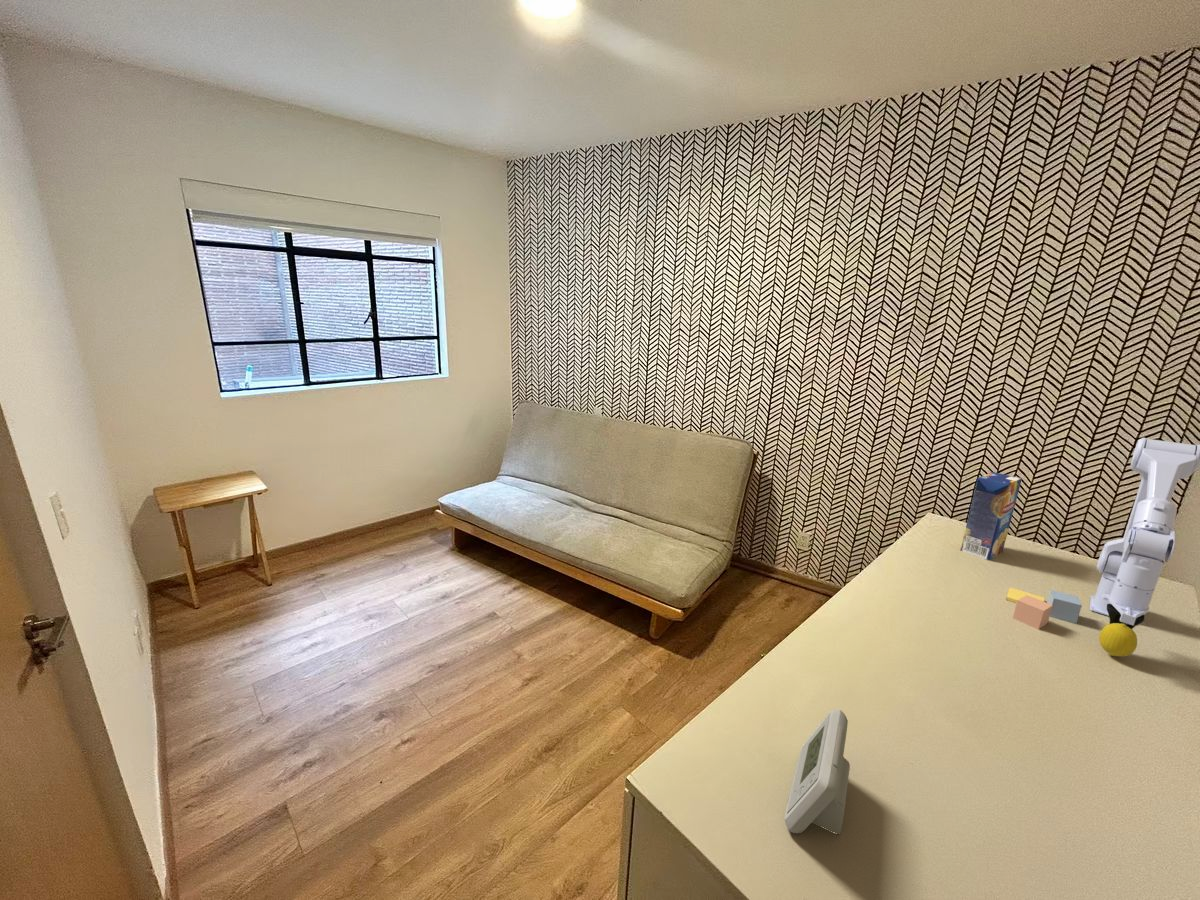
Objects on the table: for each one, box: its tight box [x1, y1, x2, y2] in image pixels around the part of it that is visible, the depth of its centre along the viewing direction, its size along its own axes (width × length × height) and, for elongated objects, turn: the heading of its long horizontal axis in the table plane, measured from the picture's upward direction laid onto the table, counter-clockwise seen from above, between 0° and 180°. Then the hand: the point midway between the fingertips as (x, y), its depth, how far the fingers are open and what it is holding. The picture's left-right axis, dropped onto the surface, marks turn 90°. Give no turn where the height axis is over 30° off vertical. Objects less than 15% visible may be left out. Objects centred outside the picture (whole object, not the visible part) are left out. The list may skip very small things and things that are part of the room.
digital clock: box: [783, 709, 851, 836], centre depth 72 cm, size 16×9×11 cm, turn 138°
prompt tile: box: [1005, 586, 1045, 604], centre depth 127 cm, size 7×7×1 cm
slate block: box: [1046, 589, 1083, 624], centre depth 121 cm, size 5×5×5 cm
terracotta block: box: [1012, 595, 1053, 630], centre depth 118 cm, size 5×5×5 cm
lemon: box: [1098, 623, 1138, 657], centre depth 106 cm, size 6×6×8 cm
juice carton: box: [960, 471, 1023, 561], centre depth 152 cm, size 12×8×24 cm, turn 125°
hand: (1115, 639), depth 108 cm, fingers closed, pressing on lemon
